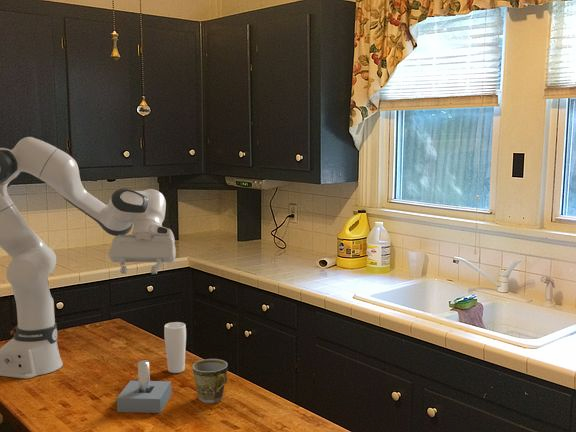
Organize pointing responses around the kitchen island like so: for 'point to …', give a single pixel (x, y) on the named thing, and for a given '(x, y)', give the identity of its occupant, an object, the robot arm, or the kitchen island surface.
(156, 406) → the socket block
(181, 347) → the white tapered cylinder
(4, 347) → the robot arm
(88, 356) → the kitchen island surface
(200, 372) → the ceramic cup
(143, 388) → the steel pin
